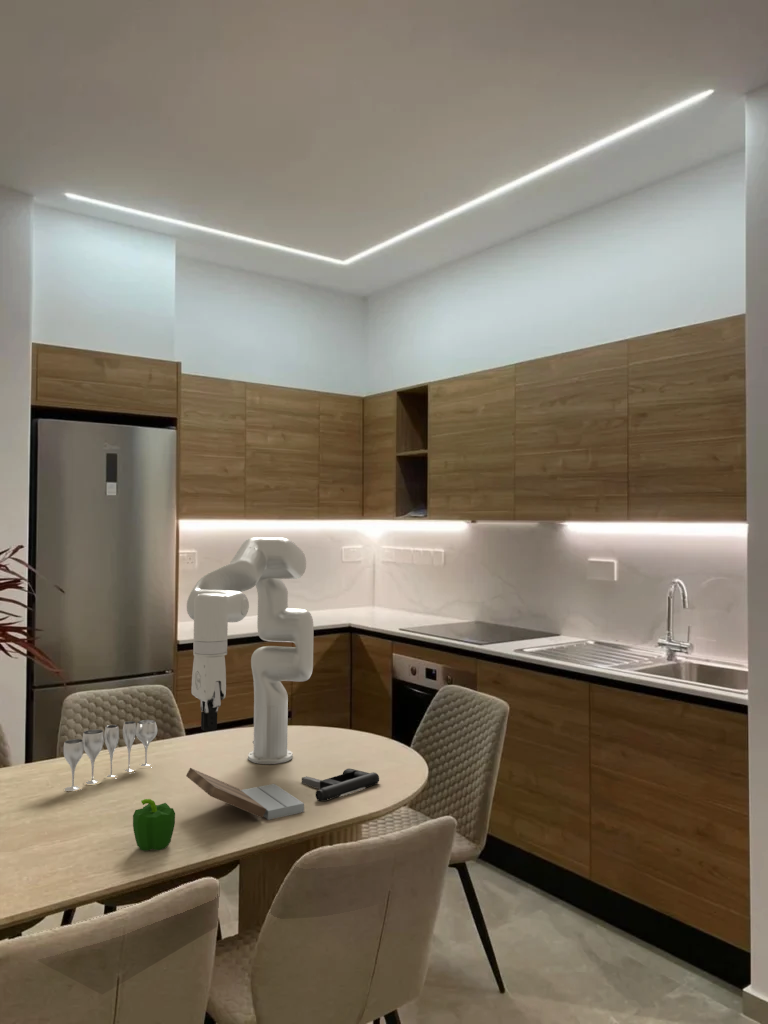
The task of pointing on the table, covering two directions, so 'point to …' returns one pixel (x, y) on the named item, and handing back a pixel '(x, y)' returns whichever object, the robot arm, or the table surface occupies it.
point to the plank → (225, 792)
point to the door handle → (341, 783)
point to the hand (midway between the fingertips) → (209, 729)
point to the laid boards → (275, 801)
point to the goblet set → (107, 744)
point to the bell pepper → (153, 825)
